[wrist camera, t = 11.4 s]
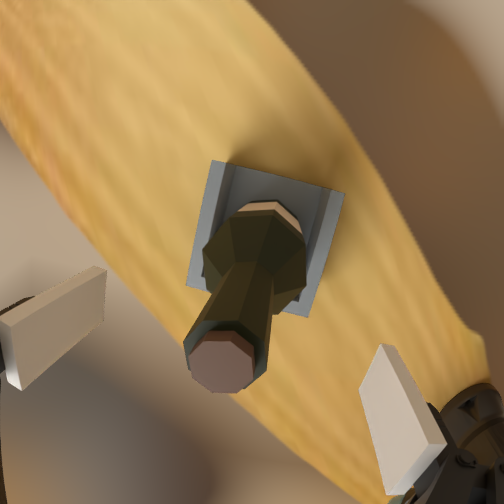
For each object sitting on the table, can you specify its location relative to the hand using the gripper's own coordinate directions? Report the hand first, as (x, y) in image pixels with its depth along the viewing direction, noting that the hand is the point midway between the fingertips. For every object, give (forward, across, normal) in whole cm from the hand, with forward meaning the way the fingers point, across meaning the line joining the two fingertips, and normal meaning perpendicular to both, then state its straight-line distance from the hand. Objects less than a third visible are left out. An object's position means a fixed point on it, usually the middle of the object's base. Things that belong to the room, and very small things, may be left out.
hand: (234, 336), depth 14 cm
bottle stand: (+28, 0, 0) cm, 28 cm away
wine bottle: (+27, 0, 0) cm, 27 cm away
